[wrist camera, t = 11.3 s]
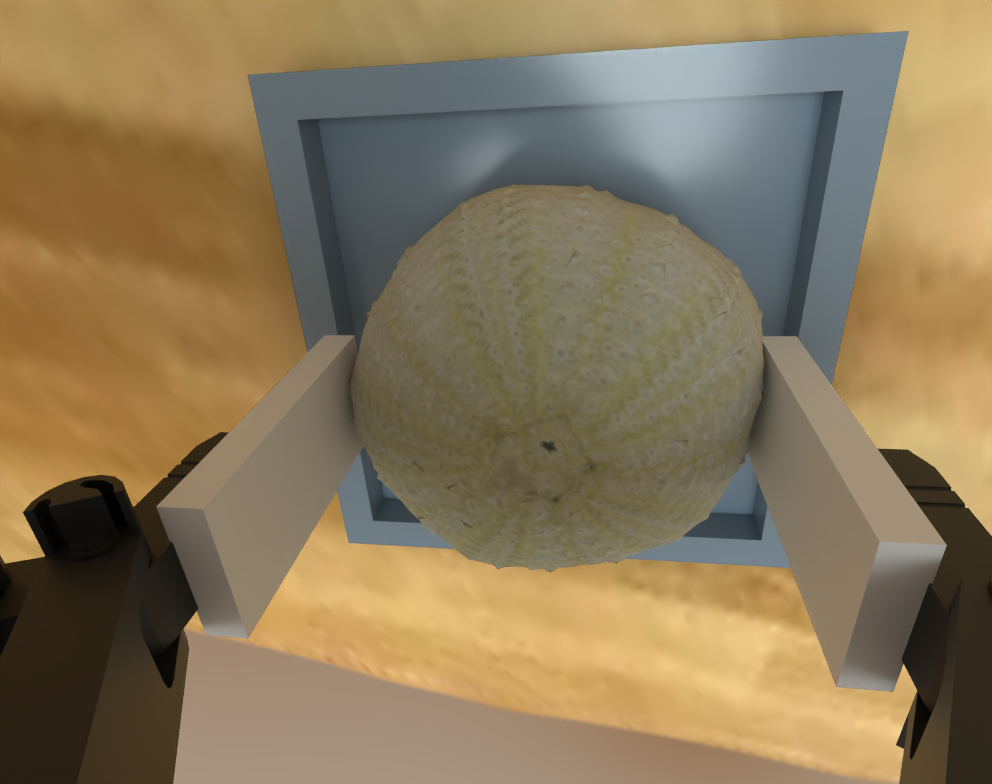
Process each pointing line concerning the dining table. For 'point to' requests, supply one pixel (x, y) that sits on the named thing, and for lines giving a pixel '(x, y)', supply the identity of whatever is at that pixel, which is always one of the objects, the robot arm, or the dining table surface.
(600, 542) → the sea urchin shell
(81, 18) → the dining table surface
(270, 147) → the tray
